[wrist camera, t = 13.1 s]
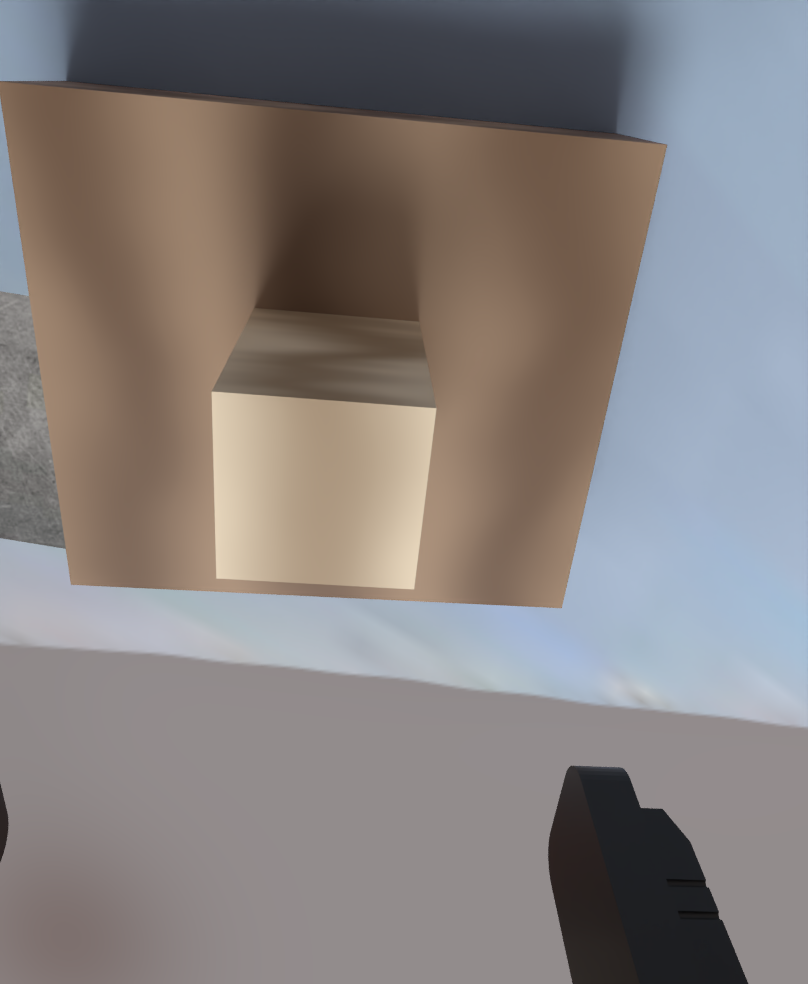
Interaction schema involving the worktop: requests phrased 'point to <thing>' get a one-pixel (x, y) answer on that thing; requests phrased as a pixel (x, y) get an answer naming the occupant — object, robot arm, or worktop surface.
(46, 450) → the meat cleaver
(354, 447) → the beech block
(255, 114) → the walnut base
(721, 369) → the worktop surface
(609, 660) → the worktop surface
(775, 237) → the worktop surface
